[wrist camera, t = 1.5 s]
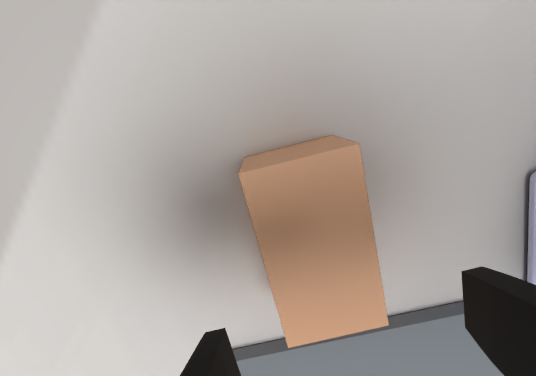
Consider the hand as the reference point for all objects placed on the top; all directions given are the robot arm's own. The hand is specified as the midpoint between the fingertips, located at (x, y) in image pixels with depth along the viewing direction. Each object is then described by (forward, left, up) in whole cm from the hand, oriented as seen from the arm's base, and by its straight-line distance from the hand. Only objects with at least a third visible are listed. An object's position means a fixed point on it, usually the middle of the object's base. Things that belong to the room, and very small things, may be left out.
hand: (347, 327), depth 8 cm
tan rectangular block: (0, 0, -9) cm, 9 cm away
